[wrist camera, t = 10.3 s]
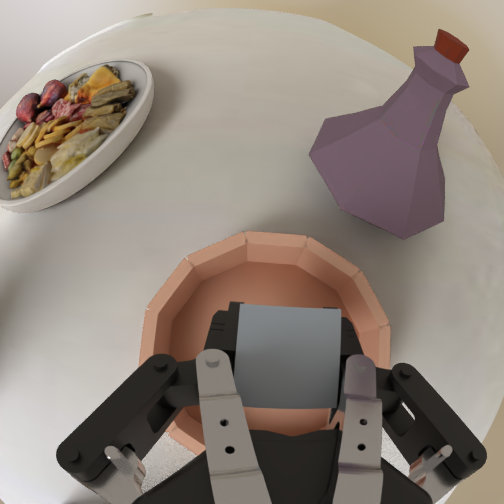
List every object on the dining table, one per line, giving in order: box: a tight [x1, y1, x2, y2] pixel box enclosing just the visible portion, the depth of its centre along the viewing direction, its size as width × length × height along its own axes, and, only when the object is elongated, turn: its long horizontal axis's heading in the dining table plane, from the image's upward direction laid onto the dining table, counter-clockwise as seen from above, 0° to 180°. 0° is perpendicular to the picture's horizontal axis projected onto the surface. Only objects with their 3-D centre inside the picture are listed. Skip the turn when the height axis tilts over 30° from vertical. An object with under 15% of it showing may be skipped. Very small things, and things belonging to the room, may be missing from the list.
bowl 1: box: [0, 59, 154, 213], centre depth 28 cm, size 30×30×8 cm
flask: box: [309, 29, 469, 239], centre depth 19 cm, size 16×16×20 cm
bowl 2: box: [139, 231, 390, 455], centre depth 20 cm, size 18×18×5 cm
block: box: [234, 304, 341, 409], centre depth 13 cm, size 4×4×8 cm
